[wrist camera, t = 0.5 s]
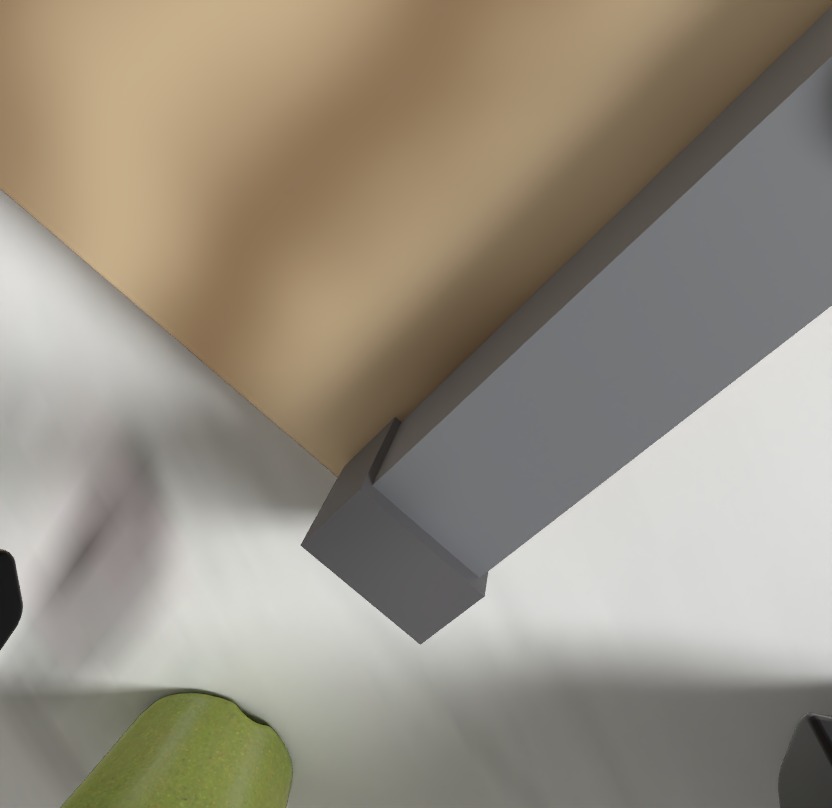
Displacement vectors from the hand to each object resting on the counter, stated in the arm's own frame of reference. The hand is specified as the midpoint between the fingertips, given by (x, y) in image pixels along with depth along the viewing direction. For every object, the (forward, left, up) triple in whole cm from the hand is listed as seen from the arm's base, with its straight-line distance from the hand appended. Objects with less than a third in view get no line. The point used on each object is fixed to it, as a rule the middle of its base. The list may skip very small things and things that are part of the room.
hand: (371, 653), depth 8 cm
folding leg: (-1, -3, -9) cm, 10 cm away
